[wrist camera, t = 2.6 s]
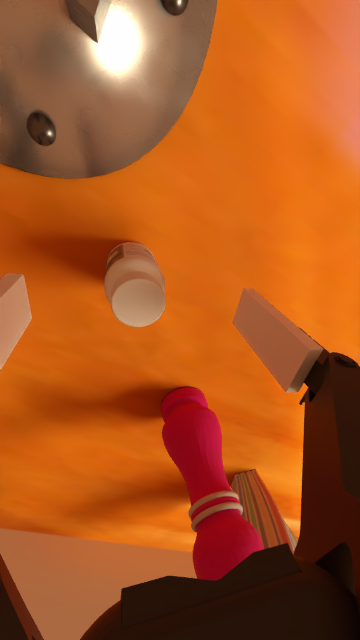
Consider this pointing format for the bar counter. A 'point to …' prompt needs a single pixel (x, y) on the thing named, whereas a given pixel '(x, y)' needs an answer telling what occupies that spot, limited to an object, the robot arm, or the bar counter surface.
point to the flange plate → (95, 80)
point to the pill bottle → (134, 284)
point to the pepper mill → (206, 485)
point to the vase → (262, 510)
